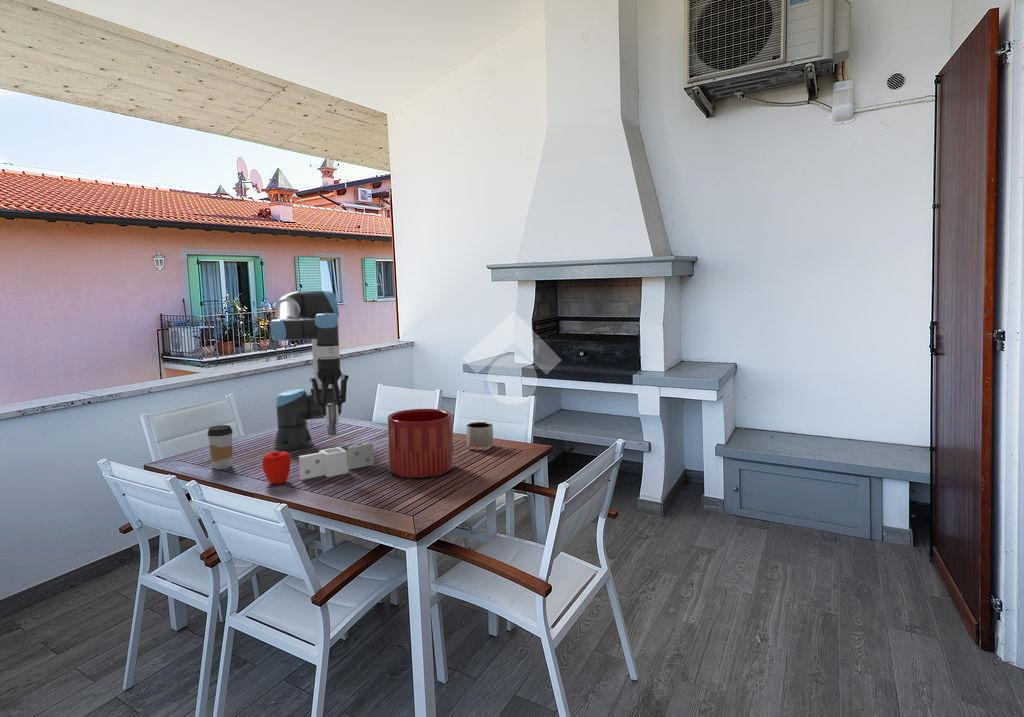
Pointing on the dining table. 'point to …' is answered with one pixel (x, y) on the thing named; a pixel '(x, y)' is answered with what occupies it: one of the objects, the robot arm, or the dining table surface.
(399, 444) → the planter
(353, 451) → the loose leaf
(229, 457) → the coffee cup
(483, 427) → the planter
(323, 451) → the fixed hinge
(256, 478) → the dining table surface
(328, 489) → the dining table surface
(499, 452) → the dining table surface
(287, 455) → the apple
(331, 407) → the pin
